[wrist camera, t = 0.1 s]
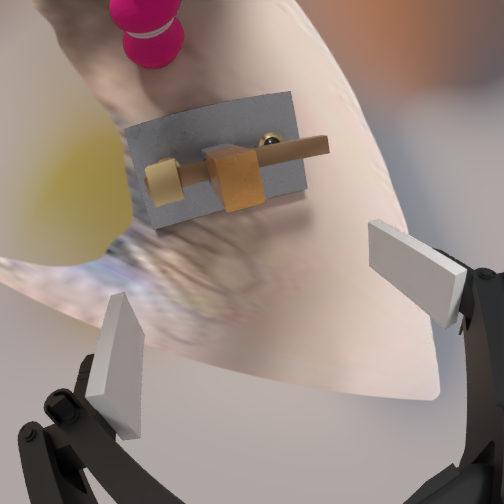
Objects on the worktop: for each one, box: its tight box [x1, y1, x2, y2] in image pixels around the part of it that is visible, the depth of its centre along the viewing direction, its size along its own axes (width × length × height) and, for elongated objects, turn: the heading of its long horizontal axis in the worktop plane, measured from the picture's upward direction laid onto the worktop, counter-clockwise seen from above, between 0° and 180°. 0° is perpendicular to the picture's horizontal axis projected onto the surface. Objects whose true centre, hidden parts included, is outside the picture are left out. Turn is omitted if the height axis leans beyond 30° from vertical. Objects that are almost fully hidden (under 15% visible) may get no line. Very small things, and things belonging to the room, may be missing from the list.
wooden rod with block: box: [144, 135, 330, 207], centre depth 34 cm, size 4×20×9 cm, turn 102°
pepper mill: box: [109, 0, 184, 69], centre depth 22 cm, size 7×7×20 cm
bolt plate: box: [124, 91, 307, 230], centre depth 38 cm, size 14×22×2 cm, turn 102°
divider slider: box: [201, 143, 266, 213], centre depth 29 cm, size 4×3×17 cm
